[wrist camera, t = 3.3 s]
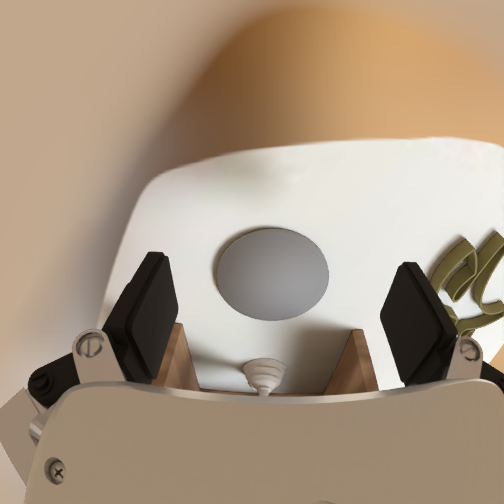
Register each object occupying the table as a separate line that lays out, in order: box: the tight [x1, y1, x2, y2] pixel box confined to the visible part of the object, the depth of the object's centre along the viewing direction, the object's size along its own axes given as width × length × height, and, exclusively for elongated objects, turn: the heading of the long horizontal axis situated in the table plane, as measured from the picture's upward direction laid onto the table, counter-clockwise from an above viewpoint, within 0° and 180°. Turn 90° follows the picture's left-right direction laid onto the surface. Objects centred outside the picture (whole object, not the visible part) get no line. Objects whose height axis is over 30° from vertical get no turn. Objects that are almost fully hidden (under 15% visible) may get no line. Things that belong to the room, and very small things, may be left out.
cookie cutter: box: [430, 232, 504, 338], centre depth 23 cm, size 18×12×2 cm, turn 38°
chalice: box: [243, 358, 286, 396], centre depth 22 cm, size 7×7×18 cm
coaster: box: [216, 228, 329, 321], centre depth 22 cm, size 9×9×1 cm
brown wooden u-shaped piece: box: [151, 323, 379, 397], centre depth 26 cm, size 19×15×10 cm
